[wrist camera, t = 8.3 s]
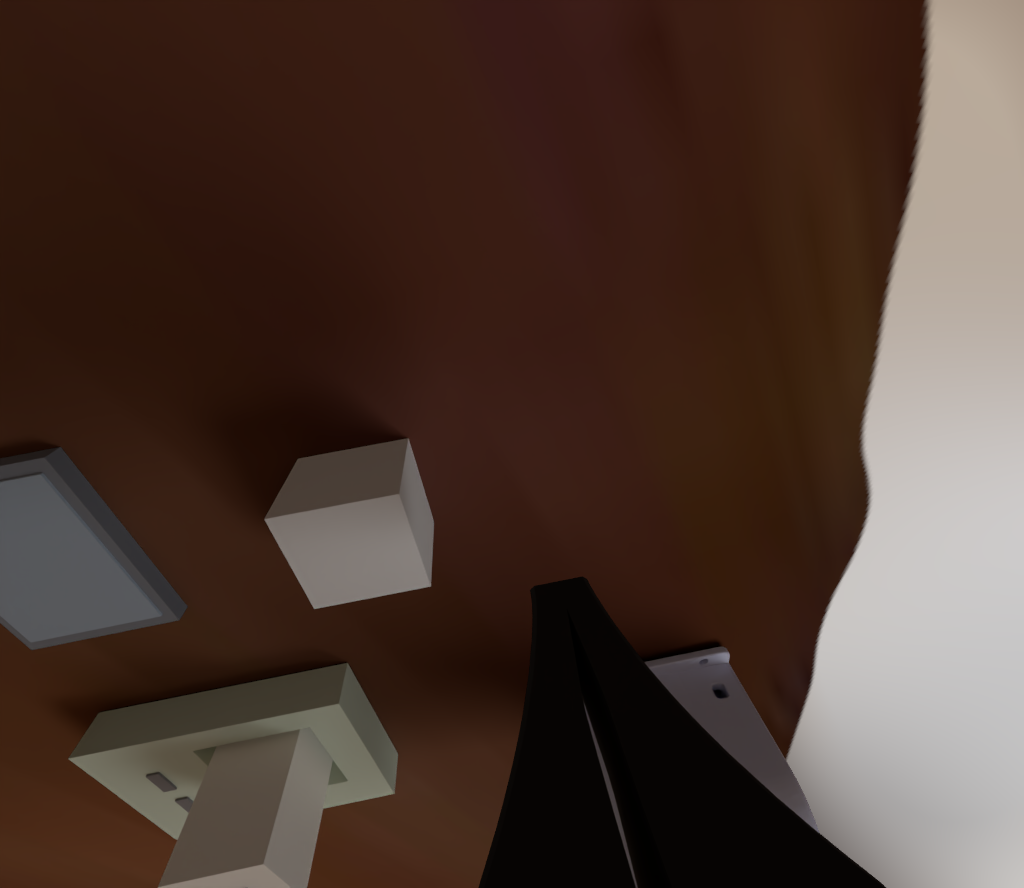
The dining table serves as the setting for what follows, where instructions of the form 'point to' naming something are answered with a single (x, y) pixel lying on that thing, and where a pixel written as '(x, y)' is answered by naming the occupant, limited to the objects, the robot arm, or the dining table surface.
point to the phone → (70, 558)
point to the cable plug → (355, 524)
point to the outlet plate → (236, 740)
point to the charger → (254, 815)
